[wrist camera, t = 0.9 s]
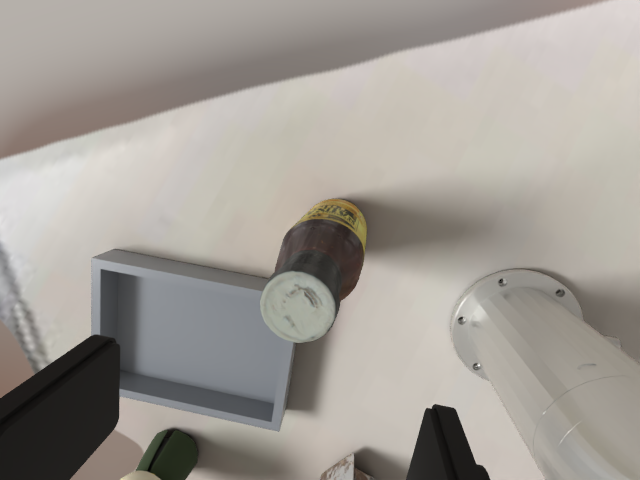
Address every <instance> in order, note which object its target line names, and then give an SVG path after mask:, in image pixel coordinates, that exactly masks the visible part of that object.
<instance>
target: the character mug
mask: <svg viewBox="0 0 640 480" xmlns="http://www.w3.org/2000/svg"><path fill="white" fill-rule="evenodd" d="M167 431H168V430H164V431H162V432H160V433H158V434H157V435H156V436H155V438H154V439H153V440H152V442H151V444H150V445H149V447H148V449H147V450H146V452H145V454H144V455H143V457H142V459H141V461H140V463H139V465H138V467H137V469H136V471H135V472H132V473H130V474H128V475H126V476H124V477H123V478H121V479H120V480H185V479H186V478H187V477H188V475H189V474H190V472H191V471H192V469H193V468H194V466H195V465H196V463H197V457H198V453H197V449H196V445H195V442H194V441H193V440H192V439H191V438H190V437H189V436H188V435H186V434H184V433H182V432H180V431H178V430H175V431H174V432H173V434H172V436H171V437H170V438H169V437H168V438H164V436H165V435H166V433H167ZM163 438H164V439H163Z"/></svg>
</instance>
